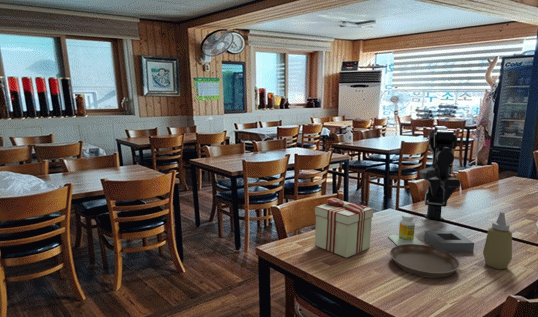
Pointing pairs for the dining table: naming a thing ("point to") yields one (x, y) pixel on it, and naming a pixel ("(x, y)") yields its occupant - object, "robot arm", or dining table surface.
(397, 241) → the tile
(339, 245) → the gift box
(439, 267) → the plant saucer
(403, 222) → the supplement bottle
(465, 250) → the holder
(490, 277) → the dining table surface
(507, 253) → the squeeze bottle
